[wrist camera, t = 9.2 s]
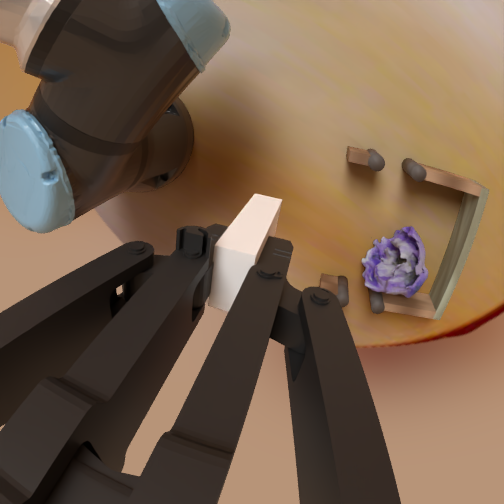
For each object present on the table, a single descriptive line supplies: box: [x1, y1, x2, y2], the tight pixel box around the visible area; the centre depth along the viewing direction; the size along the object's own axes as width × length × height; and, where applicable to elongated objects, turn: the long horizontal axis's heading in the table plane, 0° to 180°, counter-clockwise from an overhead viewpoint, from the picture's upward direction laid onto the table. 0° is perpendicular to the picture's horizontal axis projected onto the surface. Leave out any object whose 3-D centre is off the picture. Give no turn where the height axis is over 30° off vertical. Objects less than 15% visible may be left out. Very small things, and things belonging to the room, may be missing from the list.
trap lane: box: [320, 146, 489, 320], centre depth 36 cm, size 18×20×5 cm
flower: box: [362, 226, 428, 298], centre depth 36 cm, size 9×9×10 cm
